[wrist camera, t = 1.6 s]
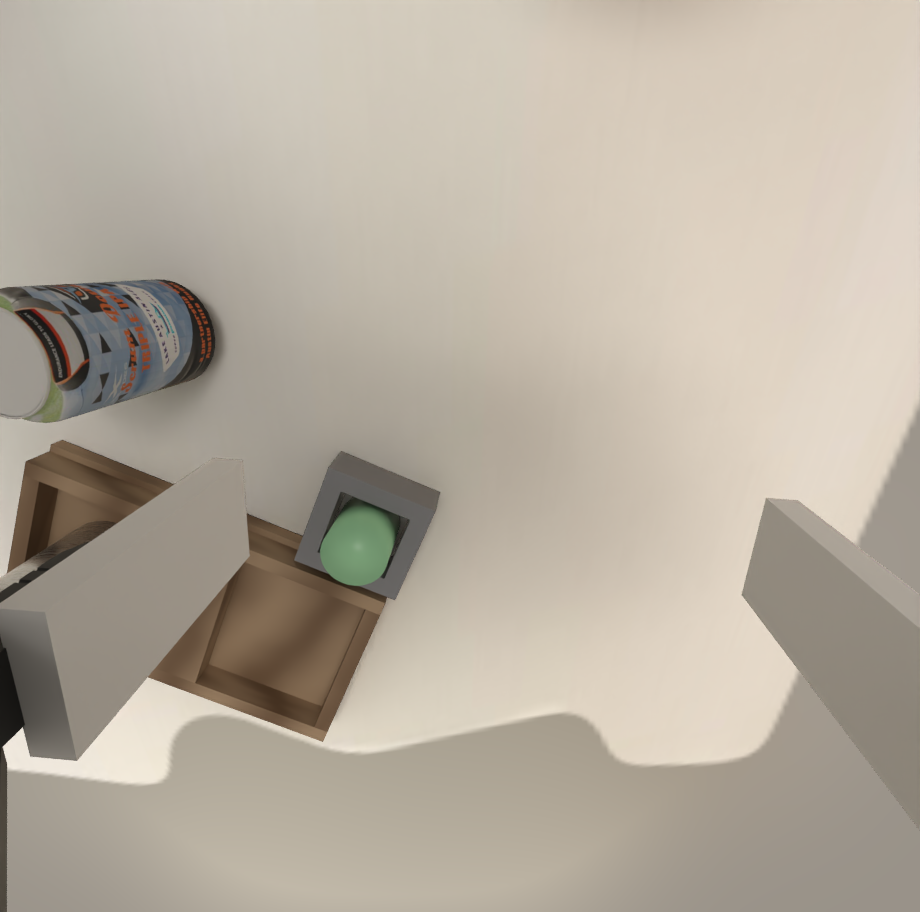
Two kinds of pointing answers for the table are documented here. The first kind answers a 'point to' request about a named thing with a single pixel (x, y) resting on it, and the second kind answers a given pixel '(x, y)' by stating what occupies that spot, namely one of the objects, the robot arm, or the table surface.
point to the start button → (359, 543)
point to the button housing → (378, 491)
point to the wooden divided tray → (221, 599)
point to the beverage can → (97, 345)
